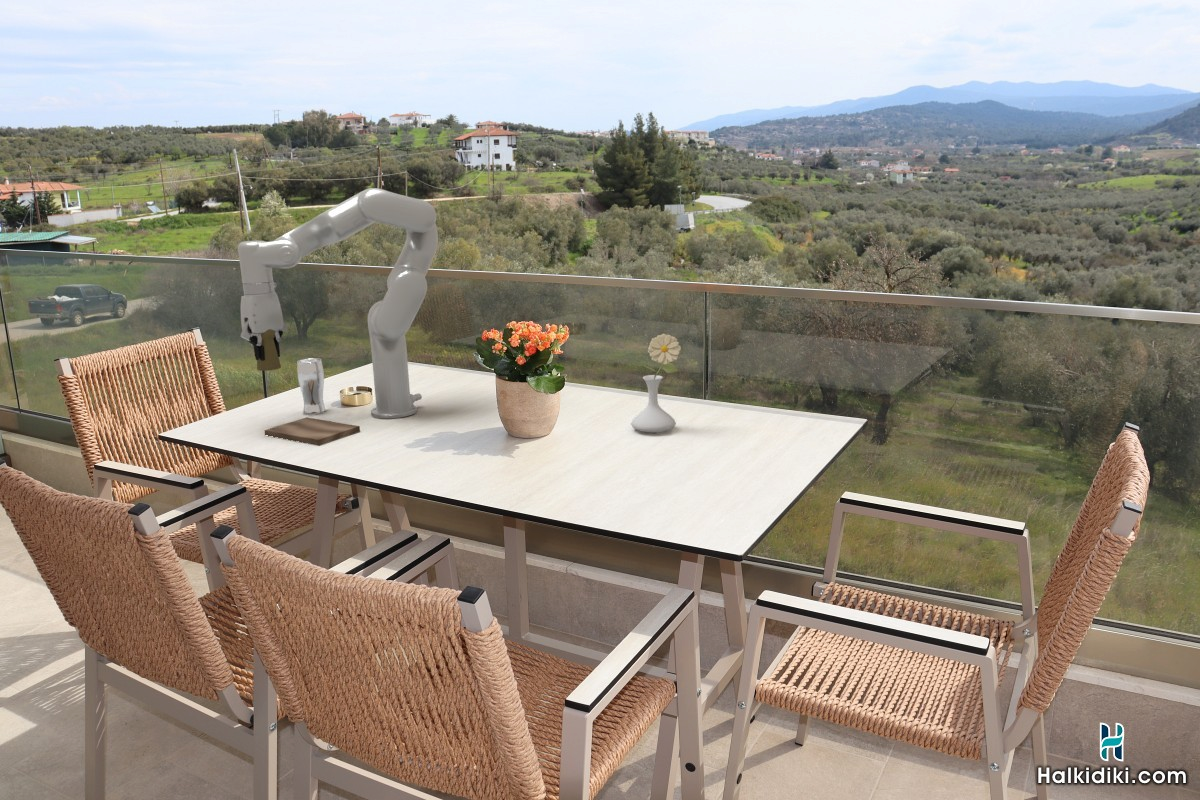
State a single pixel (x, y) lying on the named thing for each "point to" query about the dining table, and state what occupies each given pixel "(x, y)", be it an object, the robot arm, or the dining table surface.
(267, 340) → the olive brown tapered piece
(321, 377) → the beer glass
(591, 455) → the dining table surface
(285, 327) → the robot arm
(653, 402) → the flower in vase
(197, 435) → the dining table surface
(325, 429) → the walnut board
